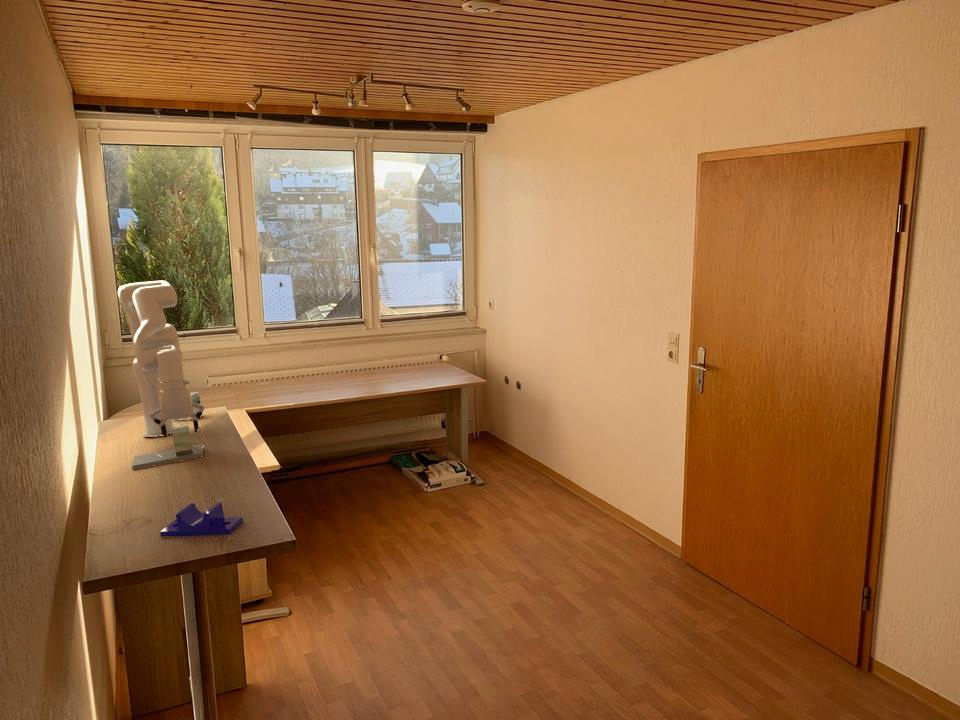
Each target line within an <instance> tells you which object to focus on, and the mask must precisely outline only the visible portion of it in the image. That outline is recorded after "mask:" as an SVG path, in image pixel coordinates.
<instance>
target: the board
mask: <svg viewBox="0 0 960 720" xmlns="http://www.w3.org/2000/svg"><path fill="white" fill-rule="evenodd" d="M204 447H205V445H203V444H196V445H192V454H187V455H181V456H176V452H175V448H174V449H167V450H163V451H157V452H150V453H147V454H145V453H144V454H141V455H134V458H133V461H132V464H131V467H132V471H134V470H135V469H136V470H140V469H139V468H141V469H145V468H144V467H147V468H149V467H148V466H152V467H154V466H153V465H158V466H160V465H159V464H163V465H168V464H167V463H169V464H173V463H172V462H174V463H178V462H177V461H179V462H182V461H181V460H185V461H188V460H187V459H190V460H192V459H191V458H195V457H201V456H204V457H205V455H204V454H205V453H203V452H204ZM201 458H202V457H201Z"/></svg>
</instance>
